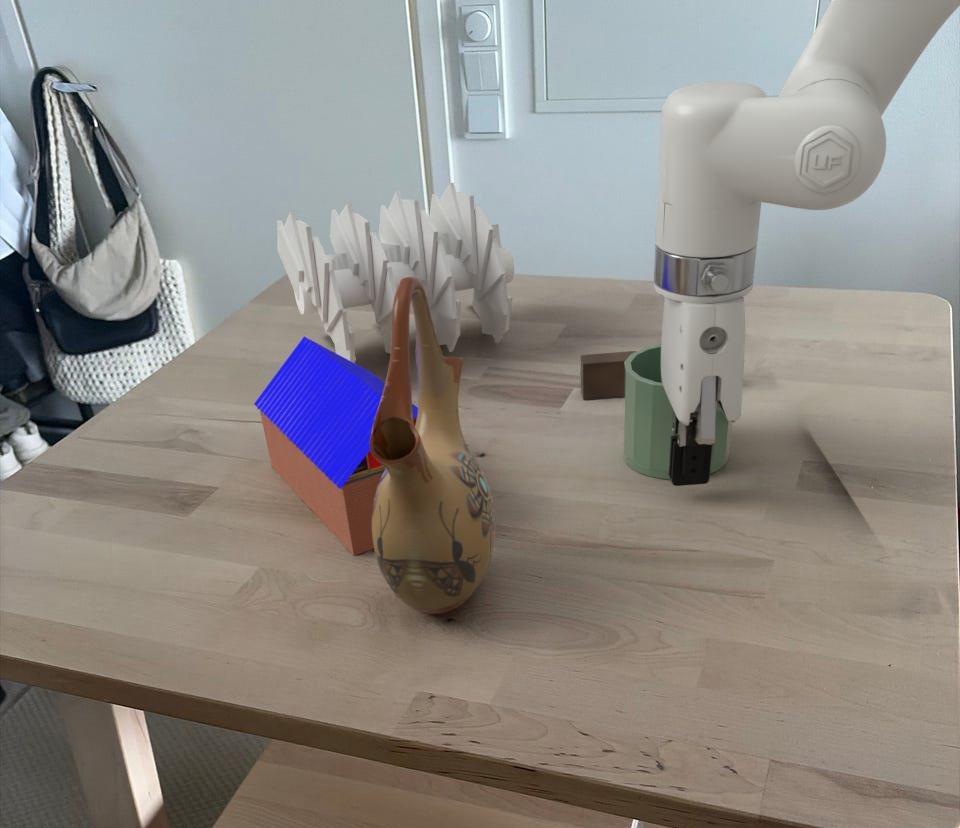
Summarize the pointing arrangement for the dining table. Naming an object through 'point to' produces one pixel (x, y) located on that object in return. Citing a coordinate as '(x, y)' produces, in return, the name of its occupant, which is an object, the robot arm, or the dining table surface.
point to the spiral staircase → (401, 266)
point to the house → (326, 438)
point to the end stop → (603, 375)
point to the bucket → (657, 418)
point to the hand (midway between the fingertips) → (688, 480)
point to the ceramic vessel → (427, 473)
